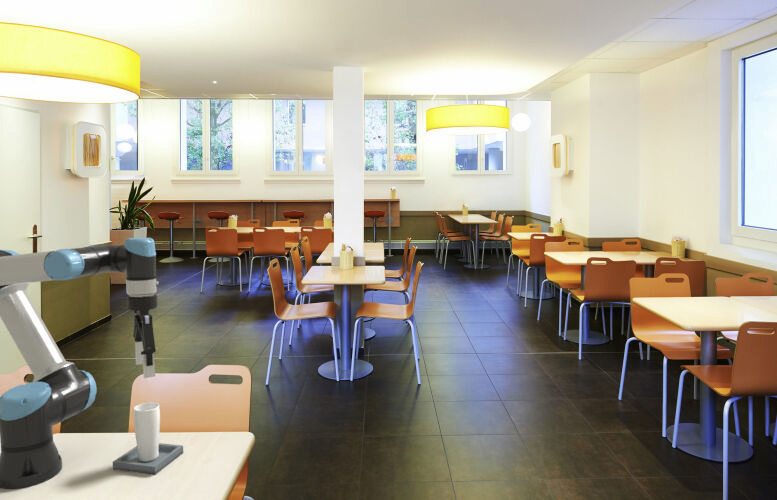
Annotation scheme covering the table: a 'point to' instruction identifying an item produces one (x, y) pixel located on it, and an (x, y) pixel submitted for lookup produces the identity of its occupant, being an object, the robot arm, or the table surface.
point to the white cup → (147, 430)
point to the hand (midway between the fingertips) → (145, 370)
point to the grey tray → (151, 467)
